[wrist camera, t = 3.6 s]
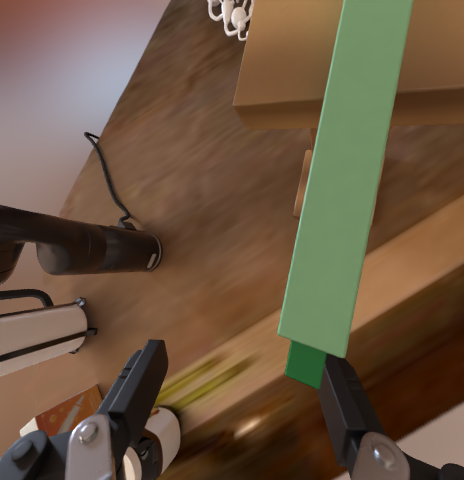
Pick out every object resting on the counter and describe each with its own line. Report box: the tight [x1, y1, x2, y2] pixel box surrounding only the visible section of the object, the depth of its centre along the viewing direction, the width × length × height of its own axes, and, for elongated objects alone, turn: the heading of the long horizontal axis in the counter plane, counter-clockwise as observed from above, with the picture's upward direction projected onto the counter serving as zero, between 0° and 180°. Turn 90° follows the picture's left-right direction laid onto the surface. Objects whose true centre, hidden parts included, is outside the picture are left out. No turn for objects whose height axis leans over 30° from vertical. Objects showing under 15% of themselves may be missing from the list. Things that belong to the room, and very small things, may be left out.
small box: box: [20, 384, 103, 437], centre depth 48 cm, size 8×6×13 cm
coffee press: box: [0, 289, 97, 376], centre depth 45 cm, size 17×16×30 cm
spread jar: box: [124, 406, 181, 480], centre depth 40 cm, size 12×11×12 cm
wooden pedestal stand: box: [233, 0, 464, 227], centre depth 23 cm, size 14×12×32 cm
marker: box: [278, 0, 414, 389], centre depth 7 cm, size 21×2×2 cm, turn 167°
